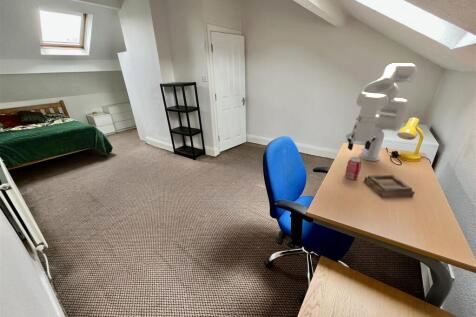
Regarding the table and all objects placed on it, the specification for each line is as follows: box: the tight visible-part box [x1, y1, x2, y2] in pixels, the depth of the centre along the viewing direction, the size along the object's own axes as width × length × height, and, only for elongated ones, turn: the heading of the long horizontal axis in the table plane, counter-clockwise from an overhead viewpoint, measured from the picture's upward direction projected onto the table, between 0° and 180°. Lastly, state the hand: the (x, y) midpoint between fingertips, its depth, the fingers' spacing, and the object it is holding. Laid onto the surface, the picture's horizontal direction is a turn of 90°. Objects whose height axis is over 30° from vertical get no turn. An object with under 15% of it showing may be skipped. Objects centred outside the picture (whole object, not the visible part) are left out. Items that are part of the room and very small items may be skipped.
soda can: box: [344, 157, 362, 180], centre depth 120 cm, size 7×7×12 cm
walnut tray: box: [363, 174, 415, 199], centre depth 110 cm, size 16×16×4 cm
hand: (358, 149), depth 114 cm, fingers open, 9 cm apart
